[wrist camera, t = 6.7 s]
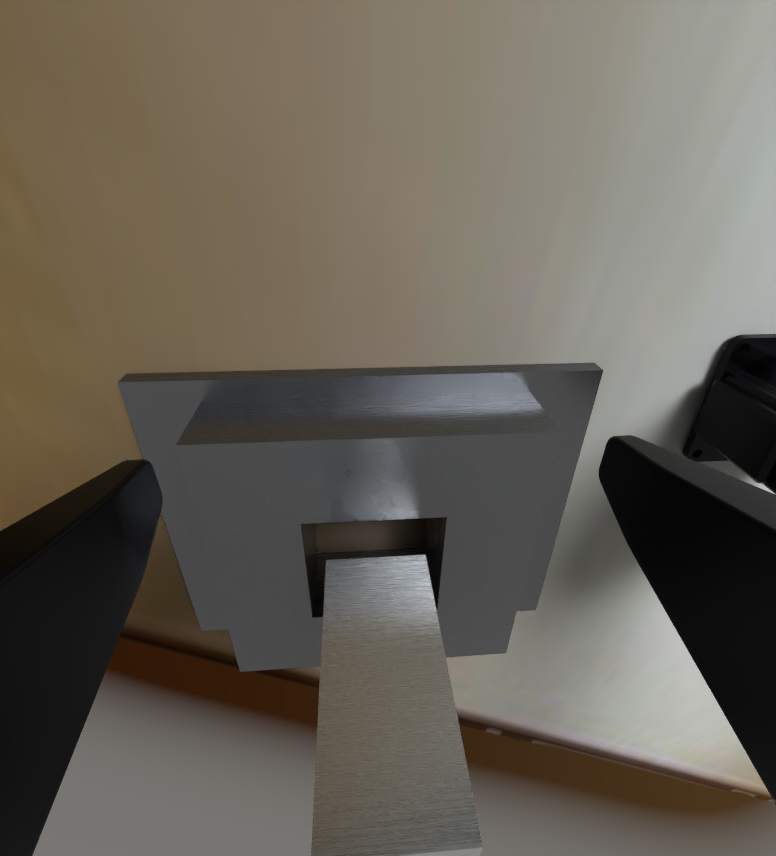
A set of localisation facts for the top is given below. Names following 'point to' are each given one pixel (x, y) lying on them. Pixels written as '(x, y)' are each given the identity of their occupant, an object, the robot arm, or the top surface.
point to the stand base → (361, 488)
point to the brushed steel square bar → (387, 720)
